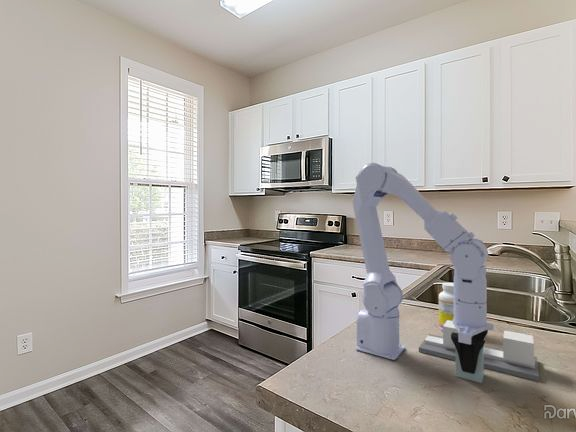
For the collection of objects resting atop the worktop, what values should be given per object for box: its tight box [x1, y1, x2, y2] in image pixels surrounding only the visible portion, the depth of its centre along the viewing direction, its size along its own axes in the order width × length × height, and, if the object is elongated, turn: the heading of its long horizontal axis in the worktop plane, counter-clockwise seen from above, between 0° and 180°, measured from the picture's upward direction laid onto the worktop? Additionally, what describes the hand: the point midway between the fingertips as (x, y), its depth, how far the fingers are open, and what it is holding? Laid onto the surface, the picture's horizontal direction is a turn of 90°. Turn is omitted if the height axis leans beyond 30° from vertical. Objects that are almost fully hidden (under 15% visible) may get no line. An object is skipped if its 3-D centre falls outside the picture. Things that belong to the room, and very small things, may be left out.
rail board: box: [418, 320, 540, 383], centre depth 70 cm, size 22×10×6 cm, turn 53°
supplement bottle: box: [438, 282, 454, 332], centre depth 86 cm, size 7×7×13 cm
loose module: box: [455, 345, 485, 384], centre depth 62 cm, size 4×4×6 cm
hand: (469, 367), depth 62 cm, fingers closed on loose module, 4 cm apart
